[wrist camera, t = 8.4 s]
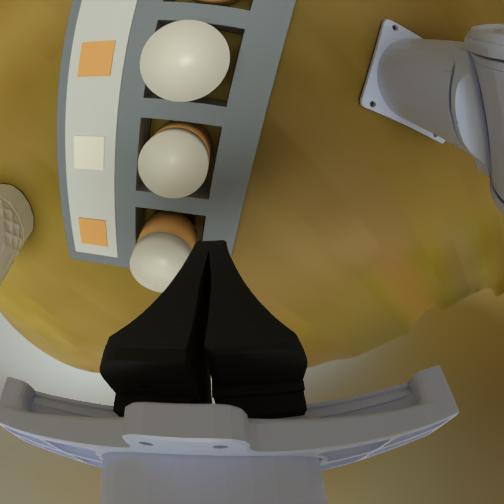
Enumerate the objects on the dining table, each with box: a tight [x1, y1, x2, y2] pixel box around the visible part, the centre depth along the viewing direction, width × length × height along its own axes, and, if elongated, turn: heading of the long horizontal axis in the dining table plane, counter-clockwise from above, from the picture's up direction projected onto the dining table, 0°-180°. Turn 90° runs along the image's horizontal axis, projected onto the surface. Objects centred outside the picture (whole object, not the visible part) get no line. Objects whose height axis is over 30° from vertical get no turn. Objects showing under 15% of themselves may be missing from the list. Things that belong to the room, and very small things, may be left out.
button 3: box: [138, 120, 211, 198], centre depth 18 cm, size 4×4×4 cm
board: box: [57, 0, 296, 268], centre depth 16 cm, size 14×26×3 cm, turn 167°
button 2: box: [140, 20, 230, 102], centre depth 12 cm, size 4×4×4 cm
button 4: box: [130, 211, 197, 293], centre depth 20 cm, size 4×4×4 cm
